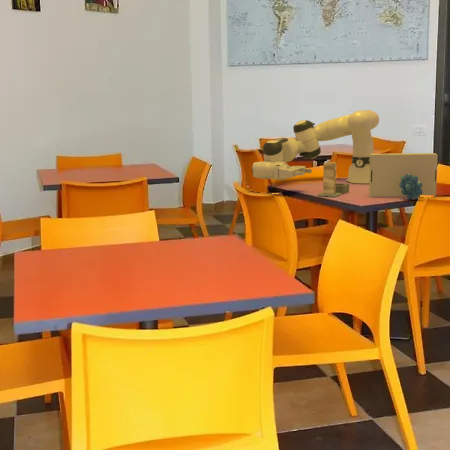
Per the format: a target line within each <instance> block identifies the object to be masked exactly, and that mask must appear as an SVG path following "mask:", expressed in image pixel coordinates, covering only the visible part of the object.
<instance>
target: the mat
mask: <svg viewBox="0 0 450 450" xmlns="http://www.w3.org/2000/svg"><path fill="white" fill-rule="evenodd" d="M341 194H342V193H336V194H334V195H330V194H323V192H321V193H318V194H317V197H321V196H328V197H327V198H337V197H340V196H342V195H343V194H342V195H341ZM339 195H340V196H339Z"/></svg>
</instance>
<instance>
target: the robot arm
mask: <svg viewBox="0 0 450 450" xmlns="http://www.w3.org/2000/svg"><path fill="white" fill-rule="evenodd" d="M379 123H380V117H379V115H378V113H377V112H375V111H373V110H370V109H364V110H363V109H362V110H356V111H354V112H353V113H350V114H347V115H342V116H339V117H334V118H331V119H328V120H325V121H322V122H320V123H319V124H317V125H316V123H315V122H312V121H310V120H308V119H305V120H303V119H302V120H298V121H297V122H296V123H295V124H294V125H293V127H292V128H293V133H294V136H295V138H293V137H288V138H287V137H278V138H275V139H271V140H268V141H265V143H263V145H262V151H263V159H264V161H255V162H253V164H252V165H251V166H252V167H251V171H252V172H251V173H252V176H253V177H254V178H256V179H263V180H275V181H276V180H277V181H286V180H287V179H289V178H290V179H292V178H294V177H297V176H305V174H312V173H313V170H312V169H311V168H307V167H306V165H291V166H290V165H289V164H288V162H291V161H293V160H294V159H295V158H297V156H298V155H299V157H301V158H303V159H306V160H313V159H315V158H317V157H318V156H320V154H321V146H320V143H319V142H328V141H332V140H336V139H337V140H338V139H340V138H343V137H347V136H351V138H352V156H351V163H352V164H350V166H349V167H348V178H347V179H345V182H347V181H348V183H352V184H369V170H370V154H374V148H375V147H374V142H375V141H374V139H373V137H372V132H371V131H372V130H373V129H375V128H376V127H377V126H378V125H379Z"/></svg>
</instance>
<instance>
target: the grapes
mask: <svg viewBox="0 0 450 450" xmlns="http://www.w3.org/2000/svg"><path fill="white" fill-rule="evenodd" d="M401 181H402V182H400V183H399V186H400V188H402V190H401V192H402V194H403V195H407V197H406V198H407V199H408V200H409V201H410V200H412V199H414V200H419V198H420V197H419V195H422V193H423V191H422V189H420V188H421V187H422V183H421V182H419V181H418V177H417V176H415V175H414V176H413V177H412V175H411V174H409V173H408V174H406V177H405V176H402V177H401ZM417 181H418V182H417ZM418 197H419V198H418Z"/></svg>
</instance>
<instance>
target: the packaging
mask: <svg viewBox="0 0 450 450" xmlns="http://www.w3.org/2000/svg"><path fill="white" fill-rule="evenodd" d="M438 156H439V155H438V154H437V153H434V152H428V153H426V152H425V153H424V152H423V153H422V152H420V153H419V152H418V153H417V152H415V153H413V152H412V153H411V152H408V153H405V152H404V153H398V152H397V153H373V154H370V170H369V183H368V196H369V197H370V198H407V195H403V194H402V192H401V190H402V188H400V186H399V183H400V182H402V181H401V177H402V176H405V177H406V174H408V173H409V174H411V175H412V177H413V176H414V175H415V176H417V177H418V181H419V182H421V183H422V187H421V188H420V189H422V191H423V193H422V195H434V196H436V197H437V182H438V181H437V180H438V179H437V178H438ZM418 181H417V182H418ZM419 196H420V195H419Z"/></svg>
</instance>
